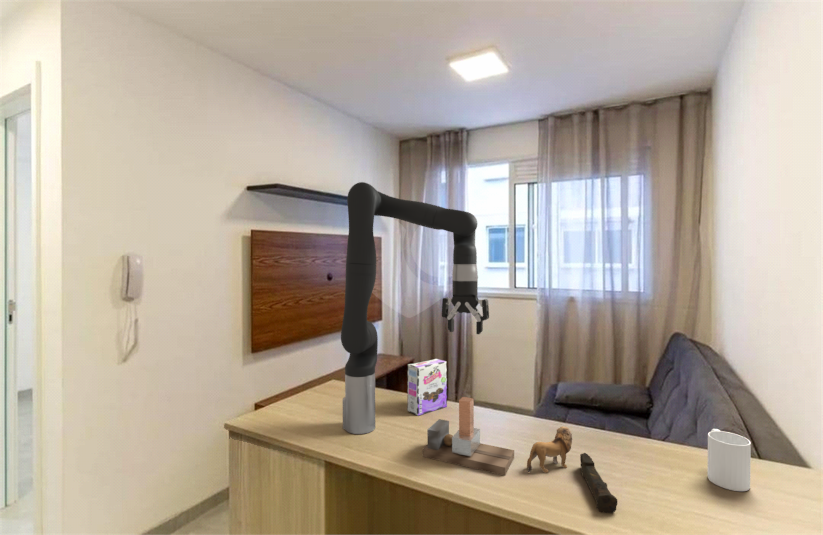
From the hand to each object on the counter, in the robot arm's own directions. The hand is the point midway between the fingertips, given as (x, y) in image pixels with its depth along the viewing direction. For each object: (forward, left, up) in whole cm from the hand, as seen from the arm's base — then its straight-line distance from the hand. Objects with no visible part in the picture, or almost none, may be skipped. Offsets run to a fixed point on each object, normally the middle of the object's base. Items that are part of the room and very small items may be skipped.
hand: (465, 332), depth 123 cm
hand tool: (+36, -16, -30) cm, 50 cm away
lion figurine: (+26, -10, -30) cm, 41 cm away
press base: (+6, -15, -30) cm, 34 cm away
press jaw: (+5, -15, -28) cm, 32 cm away
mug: (+64, +2, -30) cm, 71 cm away
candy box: (-18, +12, -30) cm, 37 cm away
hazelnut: (+1, -15, -28) cm, 32 cm away
